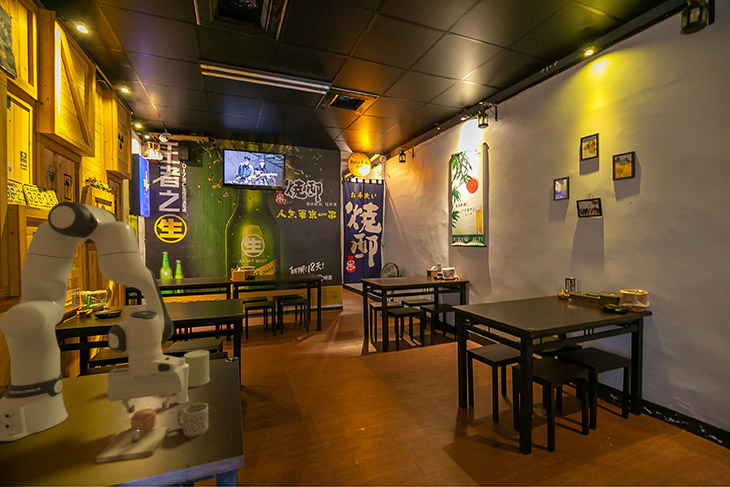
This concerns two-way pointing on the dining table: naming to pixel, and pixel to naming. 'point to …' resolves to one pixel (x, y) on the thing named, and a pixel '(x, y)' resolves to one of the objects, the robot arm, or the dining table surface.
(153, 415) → the cap
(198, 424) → the mug
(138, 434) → the stud
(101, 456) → the board
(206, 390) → the dining table surface
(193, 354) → the can
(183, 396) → the perfume bottle
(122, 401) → the robot arm
